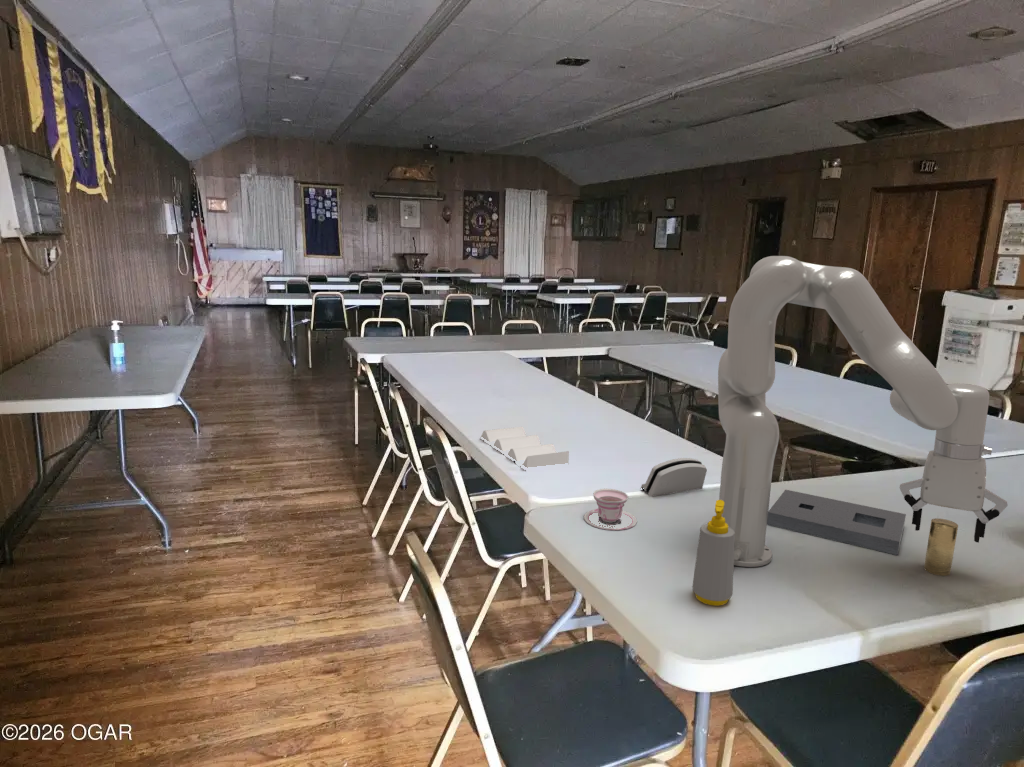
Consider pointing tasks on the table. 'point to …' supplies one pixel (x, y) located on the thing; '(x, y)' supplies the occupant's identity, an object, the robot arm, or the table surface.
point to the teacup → (610, 508)
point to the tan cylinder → (940, 547)
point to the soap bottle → (715, 560)
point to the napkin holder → (675, 476)
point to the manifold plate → (838, 521)
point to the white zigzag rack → (525, 447)
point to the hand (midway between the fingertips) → (946, 534)
